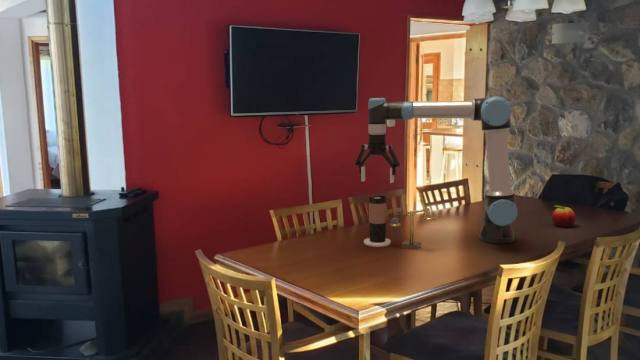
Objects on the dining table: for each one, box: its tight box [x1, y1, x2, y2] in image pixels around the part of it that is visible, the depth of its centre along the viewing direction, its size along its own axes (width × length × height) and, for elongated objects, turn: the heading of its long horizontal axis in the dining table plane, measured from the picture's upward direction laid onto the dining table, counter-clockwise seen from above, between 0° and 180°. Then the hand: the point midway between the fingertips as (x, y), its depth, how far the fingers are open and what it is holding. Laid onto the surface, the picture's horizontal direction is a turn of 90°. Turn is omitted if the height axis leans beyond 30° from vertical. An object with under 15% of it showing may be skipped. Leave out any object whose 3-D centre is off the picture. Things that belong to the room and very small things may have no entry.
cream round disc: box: [363, 237, 392, 248], centre depth 255 cm, size 12×12×1 cm
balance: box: [388, 207, 436, 251], centre depth 246 cm, size 20×6×18 cm, turn 63°
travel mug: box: [368, 195, 387, 243], centre depth 253 cm, size 8×8×20 cm
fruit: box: [551, 204, 576, 228], centre depth 280 cm, size 11×11×10 cm
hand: (377, 181), depth 250 cm, fingers open, 13 cm apart
